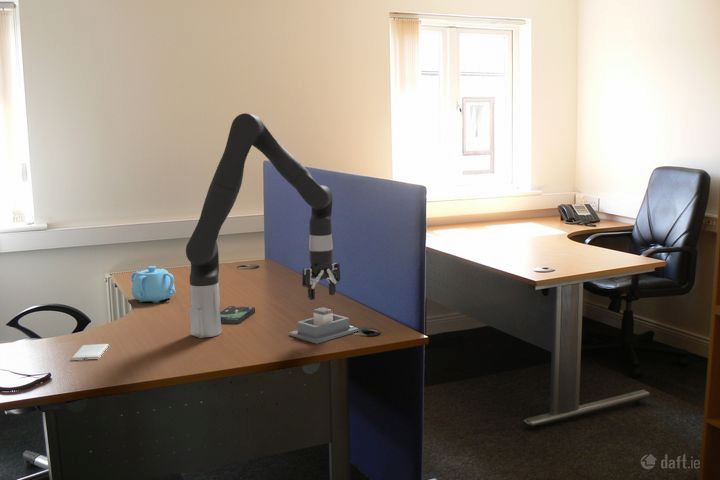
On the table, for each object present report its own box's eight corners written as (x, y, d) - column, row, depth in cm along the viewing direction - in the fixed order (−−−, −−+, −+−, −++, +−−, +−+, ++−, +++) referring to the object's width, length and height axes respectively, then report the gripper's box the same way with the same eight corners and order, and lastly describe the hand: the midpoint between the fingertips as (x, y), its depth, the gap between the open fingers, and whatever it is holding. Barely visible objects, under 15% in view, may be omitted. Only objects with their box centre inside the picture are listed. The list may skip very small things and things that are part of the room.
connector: (324, 333, 242) (323, 312, 241) (314, 330, 246) (313, 309, 244) (333, 330, 245) (332, 309, 243) (323, 327, 248) (322, 307, 247)
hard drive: (82, 344, 237) (70, 357, 224) (109, 343, 237) (98, 355, 225) (82, 350, 237) (71, 362, 225) (109, 348, 237) (99, 361, 225)
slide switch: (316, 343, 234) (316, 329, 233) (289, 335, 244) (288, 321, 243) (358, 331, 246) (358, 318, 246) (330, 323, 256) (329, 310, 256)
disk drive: (229, 313, 276) (212, 323, 262) (228, 306, 276) (212, 316, 262) (255, 314, 274) (240, 324, 260) (255, 306, 274) (240, 317, 260)
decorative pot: (133, 306, 288) (130, 272, 286) (131, 297, 303) (129, 264, 301) (176, 302, 293) (174, 268, 291) (172, 293, 308) (170, 261, 306)
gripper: (329, 244, 248) (330, 291, 251) (296, 249, 238) (297, 299, 241) (345, 246, 243) (345, 295, 245) (311, 252, 233) (312, 303, 236)
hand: (322, 297), depth 243 cm, fingers open, 8 cm apart
